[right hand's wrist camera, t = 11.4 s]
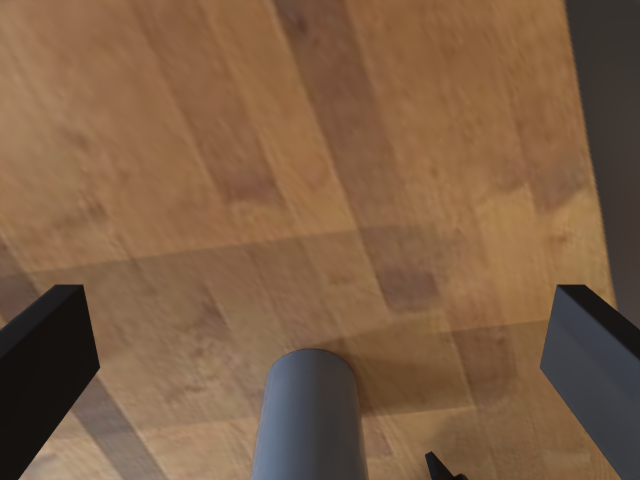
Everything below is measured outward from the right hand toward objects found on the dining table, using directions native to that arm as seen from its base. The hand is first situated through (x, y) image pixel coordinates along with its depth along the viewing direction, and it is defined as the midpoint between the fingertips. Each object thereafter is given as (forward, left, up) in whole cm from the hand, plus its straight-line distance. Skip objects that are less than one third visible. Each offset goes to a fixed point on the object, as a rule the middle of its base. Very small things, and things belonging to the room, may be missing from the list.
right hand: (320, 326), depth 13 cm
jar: (-2, -24, -27) cm, 36 cm away
